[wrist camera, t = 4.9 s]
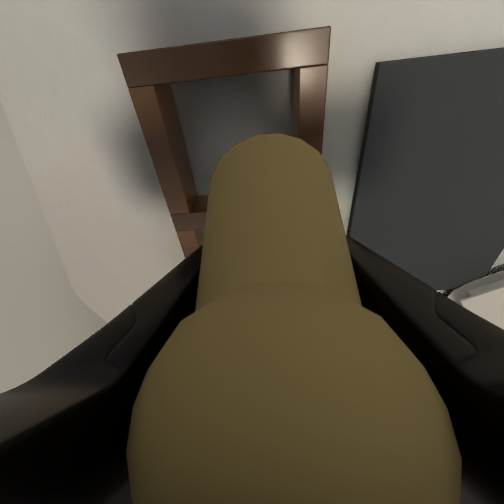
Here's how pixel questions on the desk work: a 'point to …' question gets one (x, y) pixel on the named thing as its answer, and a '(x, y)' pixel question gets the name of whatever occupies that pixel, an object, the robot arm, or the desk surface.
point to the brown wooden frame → (213, 66)
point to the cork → (285, 362)
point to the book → (483, 297)
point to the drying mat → (434, 167)
